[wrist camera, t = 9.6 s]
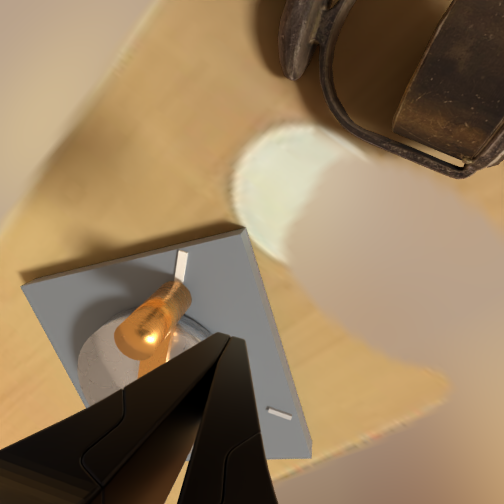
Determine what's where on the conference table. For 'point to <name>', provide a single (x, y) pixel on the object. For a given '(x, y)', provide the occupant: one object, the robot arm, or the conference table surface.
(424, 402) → the conference table surface
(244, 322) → the dial plate
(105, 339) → the dial
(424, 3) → the conference table surface
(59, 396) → the conference table surface
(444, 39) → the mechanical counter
